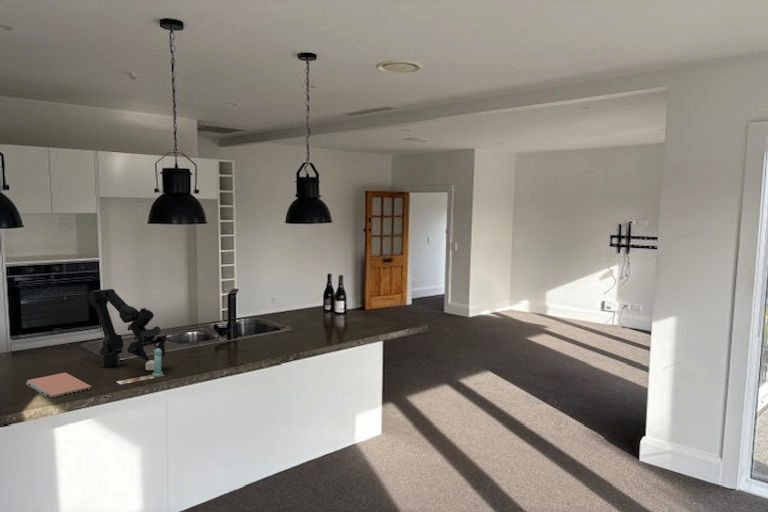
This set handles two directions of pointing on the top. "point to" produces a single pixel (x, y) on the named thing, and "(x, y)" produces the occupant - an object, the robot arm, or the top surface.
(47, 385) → the notebook
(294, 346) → the top surface
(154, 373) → the pawn
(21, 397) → the top surface
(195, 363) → the top surface
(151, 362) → the die
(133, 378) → the board
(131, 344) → the robot arm
